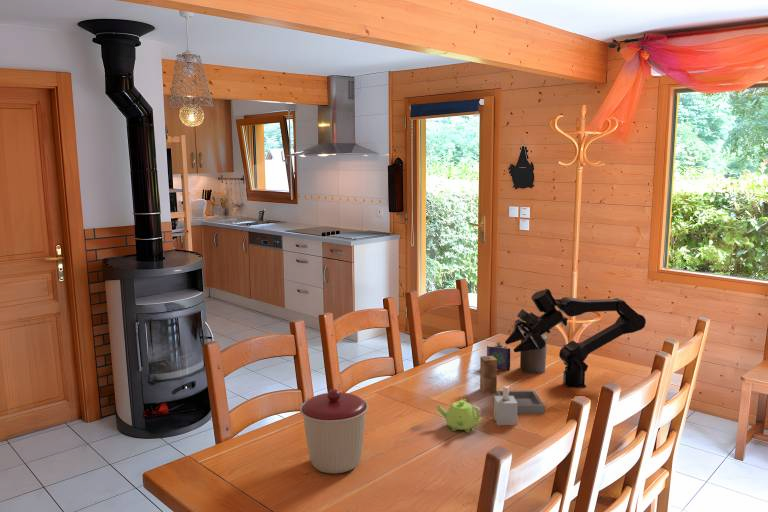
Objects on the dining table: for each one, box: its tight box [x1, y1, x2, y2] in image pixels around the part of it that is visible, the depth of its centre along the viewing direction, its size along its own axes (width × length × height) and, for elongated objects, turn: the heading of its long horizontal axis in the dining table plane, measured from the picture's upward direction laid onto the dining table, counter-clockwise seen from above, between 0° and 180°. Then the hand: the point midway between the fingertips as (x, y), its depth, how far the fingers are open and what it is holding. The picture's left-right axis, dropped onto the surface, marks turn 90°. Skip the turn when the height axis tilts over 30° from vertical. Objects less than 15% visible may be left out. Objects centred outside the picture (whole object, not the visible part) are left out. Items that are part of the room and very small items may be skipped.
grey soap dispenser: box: [493, 385, 518, 426], centre depth 190 cm, size 6×6×11 cm
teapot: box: [436, 398, 483, 433], centre depth 186 cm, size 11×12×8 cm
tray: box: [495, 389, 545, 415], centre depth 202 cm, size 13×13×3 cm
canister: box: [299, 388, 369, 475], centre depth 164 cm, size 18×18×21 cm
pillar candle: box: [519, 333, 548, 375], centre depth 236 cm, size 10×10×15 cm
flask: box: [486, 341, 511, 372], centre depth 238 cm, size 9×3×11 cm, turn 65°
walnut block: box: [479, 355, 498, 395], centre depth 215 cm, size 4×4×12 cm
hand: (509, 347), depth 216 cm, fingers open, 9 cm apart
